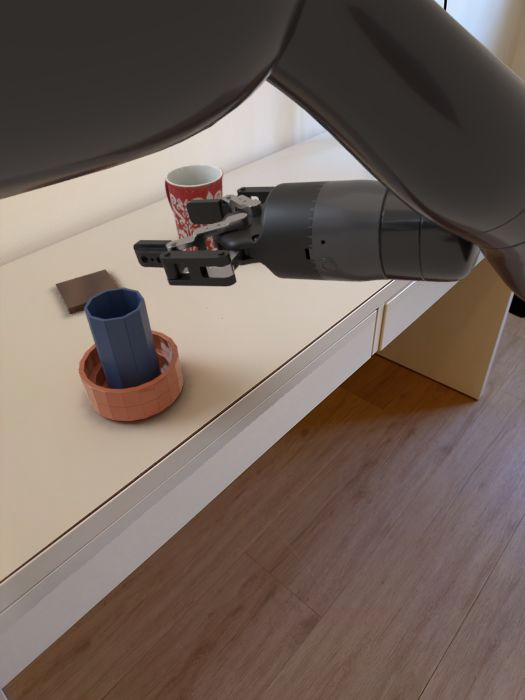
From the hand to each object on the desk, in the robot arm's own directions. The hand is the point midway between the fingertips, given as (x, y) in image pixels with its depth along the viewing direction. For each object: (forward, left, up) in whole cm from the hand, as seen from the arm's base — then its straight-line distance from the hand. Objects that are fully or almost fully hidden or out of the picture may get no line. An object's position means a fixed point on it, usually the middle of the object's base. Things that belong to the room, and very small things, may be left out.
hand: (165, 231), depth 48 cm
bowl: (-5, +5, -22) cm, 23 cm away
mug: (+16, +34, -22) cm, 43 cm away
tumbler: (-5, +5, -21) cm, 22 cm away
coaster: (-4, +30, -22) cm, 38 cm away
